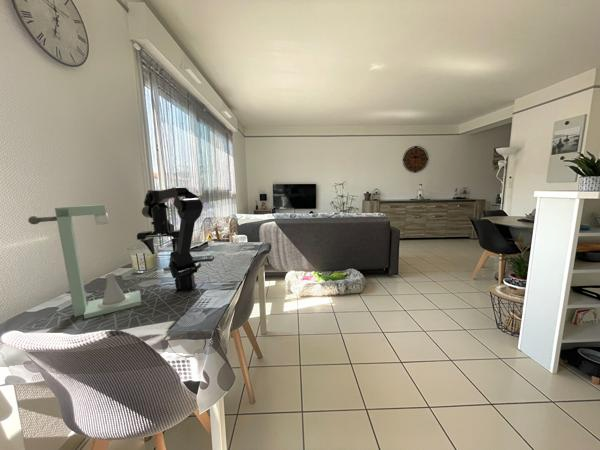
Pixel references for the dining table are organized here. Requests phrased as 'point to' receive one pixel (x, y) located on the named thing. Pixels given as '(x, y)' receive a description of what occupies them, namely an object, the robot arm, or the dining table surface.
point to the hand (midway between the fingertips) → (164, 253)
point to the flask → (112, 291)
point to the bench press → (73, 262)
